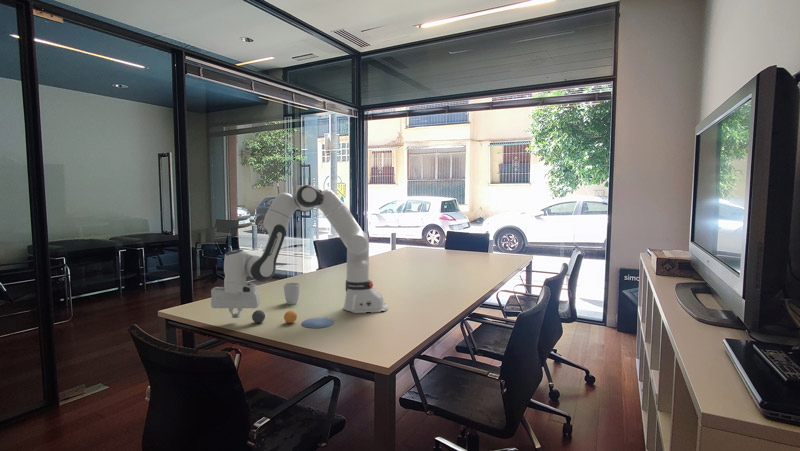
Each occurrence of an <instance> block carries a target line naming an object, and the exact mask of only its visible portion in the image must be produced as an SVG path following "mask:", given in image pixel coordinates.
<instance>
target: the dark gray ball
mask: <svg viewBox="0 0 800 451" xmlns="http://www.w3.org/2000/svg"><path fill="white" fill-rule="evenodd" d="M251 319H252V321H253V322H254V323H255V324H256V323H257V324H260V323H263V321H265V319H266V314H265V312H264V311H263V310H261V309H260V310H259V309H258V310H256V311H254V312H253V313H252V315H251Z"/></svg>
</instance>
